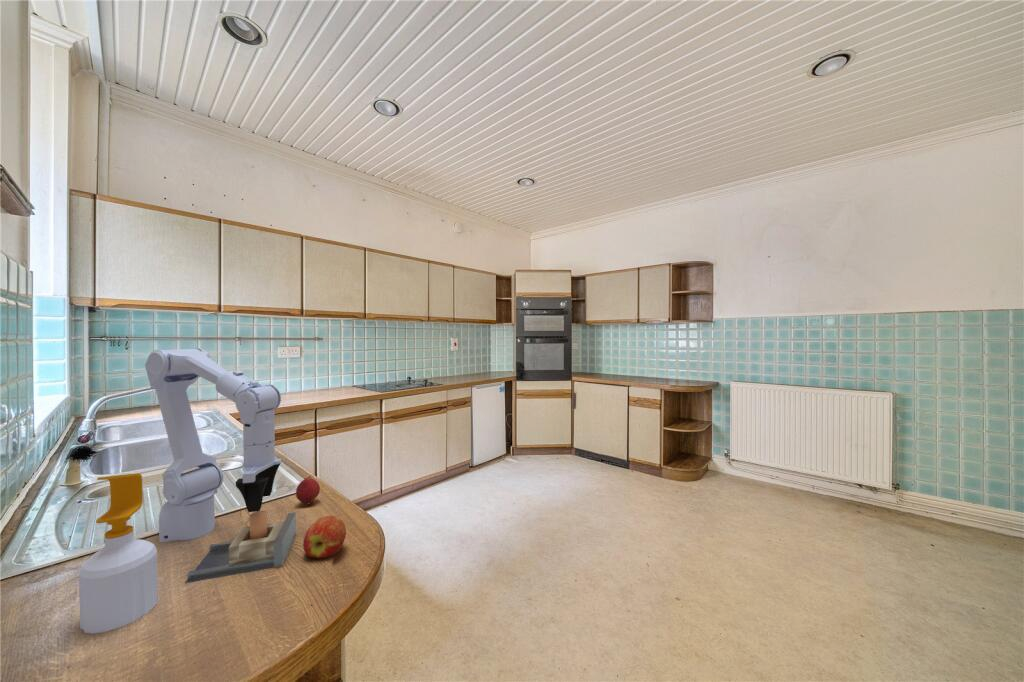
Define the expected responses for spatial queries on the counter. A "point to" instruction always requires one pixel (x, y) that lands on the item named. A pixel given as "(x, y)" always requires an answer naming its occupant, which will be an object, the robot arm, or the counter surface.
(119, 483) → the soap bottle
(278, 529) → the sliding block
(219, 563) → the slide base
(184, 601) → the counter surface
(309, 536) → the apple
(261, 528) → the dowel
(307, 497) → the onion
